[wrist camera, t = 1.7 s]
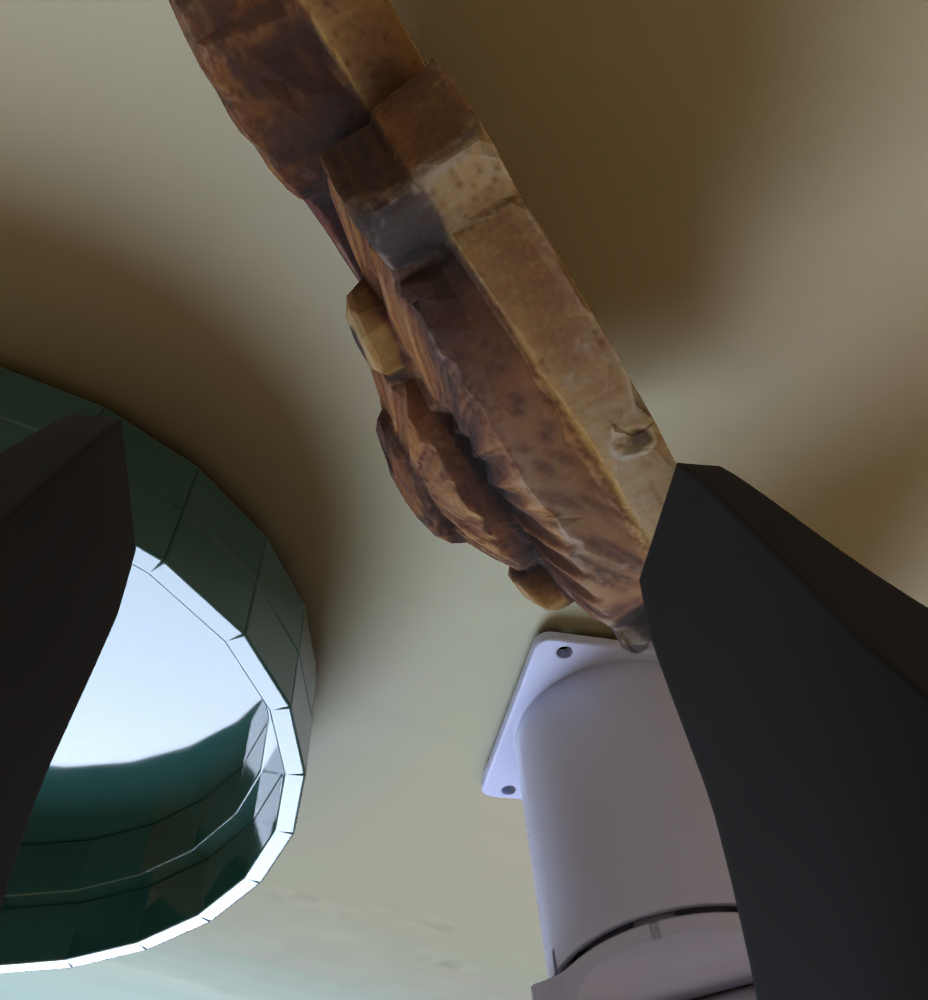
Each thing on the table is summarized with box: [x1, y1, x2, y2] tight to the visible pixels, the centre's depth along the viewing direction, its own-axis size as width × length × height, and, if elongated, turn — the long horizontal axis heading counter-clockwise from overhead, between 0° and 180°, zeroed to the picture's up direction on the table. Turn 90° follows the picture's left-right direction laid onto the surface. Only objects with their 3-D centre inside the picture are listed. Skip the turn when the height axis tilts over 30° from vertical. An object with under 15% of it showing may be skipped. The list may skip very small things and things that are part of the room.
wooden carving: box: [169, 0, 676, 654], centre depth 16 cm, size 16×5×10 cm, turn 35°
